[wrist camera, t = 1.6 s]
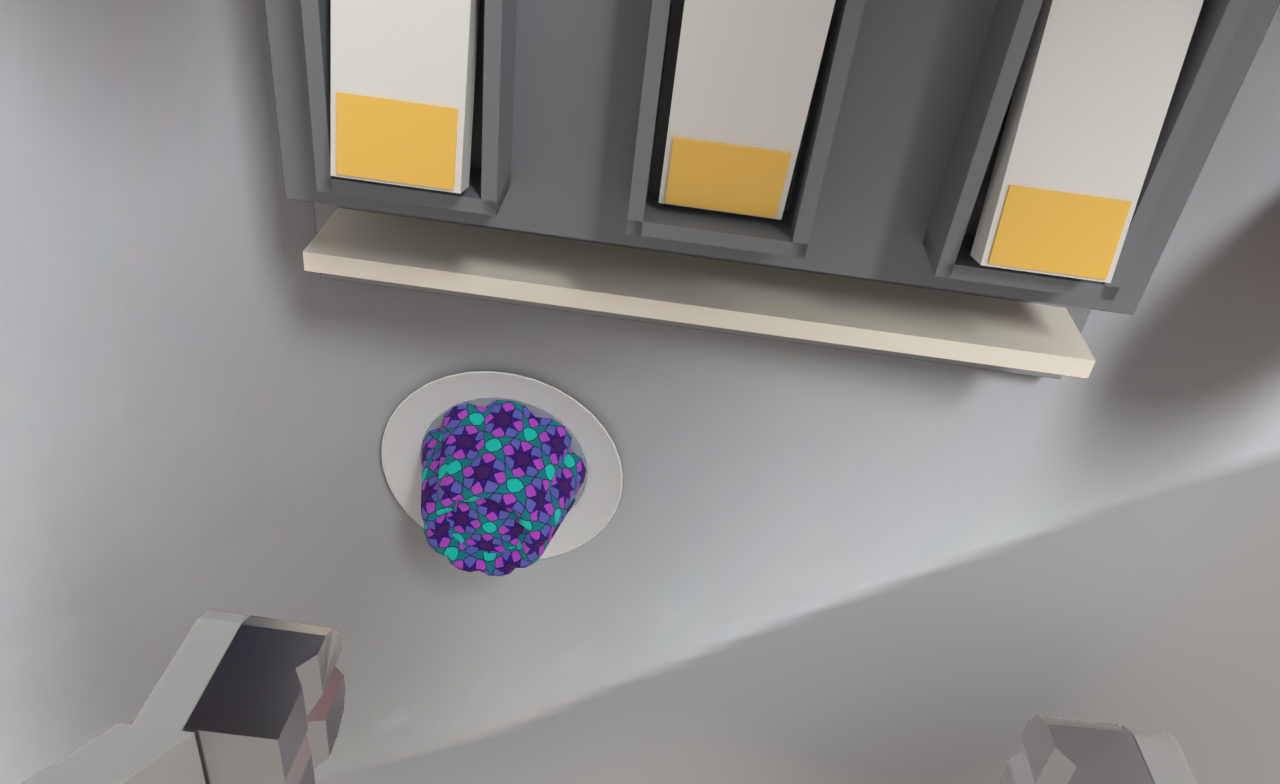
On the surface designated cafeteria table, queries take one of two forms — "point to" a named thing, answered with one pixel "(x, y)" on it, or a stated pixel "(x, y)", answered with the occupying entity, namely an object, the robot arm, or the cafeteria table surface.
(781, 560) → the cafeteria table surface
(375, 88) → the rocker
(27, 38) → the cafeteria table surface
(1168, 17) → the rocker
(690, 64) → the rocker
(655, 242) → the switch box
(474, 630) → the cafeteria table surface
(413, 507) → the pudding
